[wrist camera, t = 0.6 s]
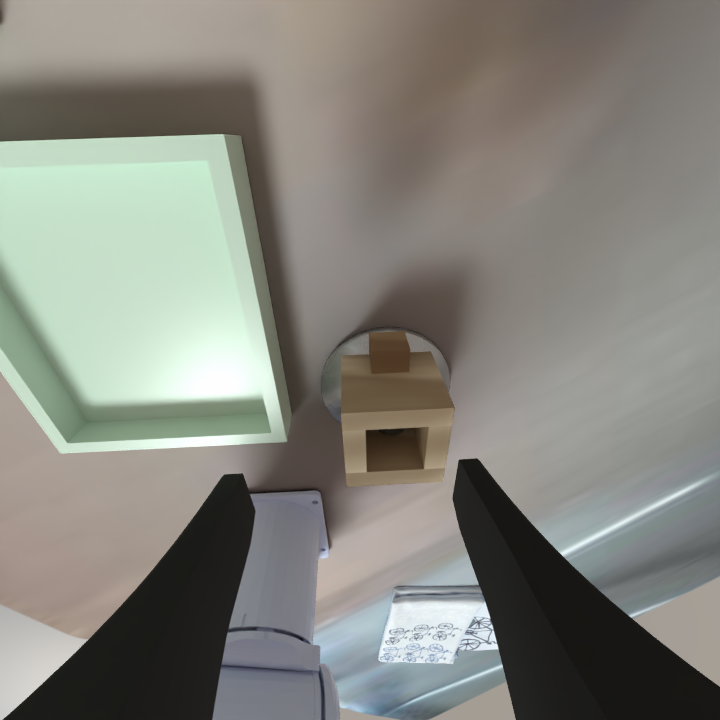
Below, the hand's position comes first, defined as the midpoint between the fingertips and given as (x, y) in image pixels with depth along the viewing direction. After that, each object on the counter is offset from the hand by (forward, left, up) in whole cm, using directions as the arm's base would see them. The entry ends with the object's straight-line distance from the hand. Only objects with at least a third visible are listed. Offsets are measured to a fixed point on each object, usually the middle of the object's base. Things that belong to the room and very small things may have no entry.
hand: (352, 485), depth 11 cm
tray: (+2, +11, -10) cm, 15 cm away
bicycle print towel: (-41, -12, -11) cm, 44 cm away
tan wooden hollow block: (-3, -2, -9) cm, 10 cm away
